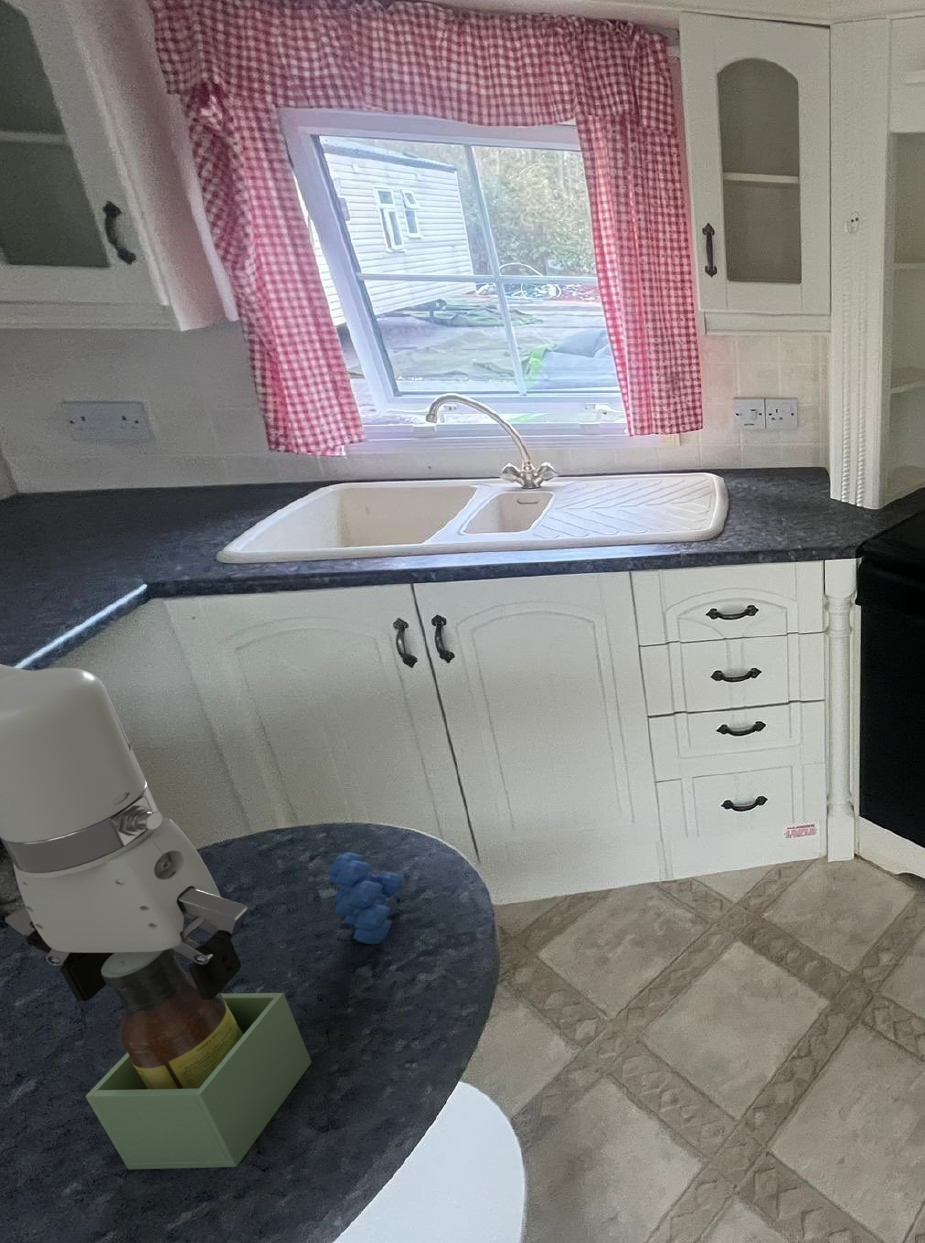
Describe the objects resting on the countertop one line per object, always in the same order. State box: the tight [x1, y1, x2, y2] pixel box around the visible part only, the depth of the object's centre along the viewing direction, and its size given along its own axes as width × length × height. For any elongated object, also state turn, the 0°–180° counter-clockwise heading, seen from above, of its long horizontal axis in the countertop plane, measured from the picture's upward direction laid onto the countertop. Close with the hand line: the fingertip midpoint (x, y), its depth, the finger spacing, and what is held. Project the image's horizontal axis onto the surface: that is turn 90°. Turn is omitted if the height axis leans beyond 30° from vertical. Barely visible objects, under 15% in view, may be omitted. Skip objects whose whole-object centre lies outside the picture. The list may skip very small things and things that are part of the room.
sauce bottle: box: [101, 949, 243, 1089], centre depth 65 cm, size 7×6×20 cm
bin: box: [84, 992, 312, 1170], centre depth 67 cm, size 9×9×10 cm
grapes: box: [328, 851, 405, 945], centre depth 85 cm, size 12×7×12 cm, turn 51°
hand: (162, 984), depth 63 cm, fingers open, 9 cm apart
